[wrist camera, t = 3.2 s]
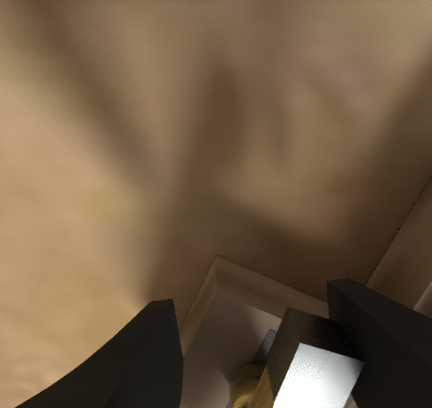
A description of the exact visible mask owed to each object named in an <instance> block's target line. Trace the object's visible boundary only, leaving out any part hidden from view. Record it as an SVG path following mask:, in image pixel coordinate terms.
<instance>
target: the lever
mask: <svg viewBox="0 0 432 408" xmlns="http://www.w3.org/2000/svg"><path fill="white" fill-rule="evenodd" d="M364 364H365V360H364V359H363V357H362V356H361V354H360V353H359V351H358V350H357V349H356V347H355V346H354V344H353V343H352V341H351V340H350V338H349V337H348V335H347V334H346V333H345V331H344V330H343V328H342V327H341V325H340V324H339V322H337V321H334V320H331V319H327V318H324V317H321V316H317V315H314V314H311V313H307V312H304V311H301V310H297V309H294V308H291V307H287V309H286V311H285V313H284V316H283V318H282V321H281V323H280V325H279V328H278V330H277V333H276V335H275V337H274V340H273V342H272V345H271V347H270V350H269V352H268V354H267V357H266V366H262V365H259V364H248V365H245V366H242V367H240V368H239V369H237V370H236V371H235V372H234V373H233V374H232V376H231V378H230V382H229V393H230V408H343V407H344V405H345V403H346V401H347V399H348V397H349V395H350V393H351V391H352V389H353V386H354V384H355V382H356V380H357V378H358V376H359V374H360V372H361V370H362V368H363V366H364Z"/></svg>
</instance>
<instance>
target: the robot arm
mask: <svg viewBox="0 0 432 408" xmlns="http://www.w3.org/2000/svg"><path fill="white" fill-rule="evenodd" d="M327 294H328V309H329V319H331V320H334V321H337V322H339V324H340V325H341V327H342V328H343V330H344V331H345V333H346V334H347V335H348V337H349V338H350V340H351V341H352V343H353V344H354V346H355V347H356V349H357V350H358V351H359V353H360V354H361V356H362V357H363V359H364V360H365V364H364V366H363V368H362V370H361V372H360V374H359V376H358V378H357V380H356V382H355V384H354V386H353V389H352V391H351V395H352V397H353V399H354V401H355V403H356V405H357V407H358V408H432V318H431V317H428V316H426V315H424V314H421V313H419V312H417V311H415V310H413V309H410V308H408V307H406V306H404V305H402V304H400V303H398V302H396V301H394V300H392V299H390V298H388V297H386V296H384V295H382V294H380V293H378V292H376V291H374V290H372V289H370V288H368V287H366V286H364V285H362V284H360V283H358V282H356V281H354V280H351V279H349V278H348V279H339V280H331V281H327ZM183 365H184V360H183V354H182V348H181V343H180V337H179V331H178V326H177V320H176V315H175V309H174V303H173V299H168V300H159V301H152V302H150V303H149V304H148V305H147V306H146V307H145V308H143V309H142V310H141V311H140V312H139V313H138V314H137V315H136V316H135V317H134V318H133V319H132V320H131V321H130V322H129V323H128V324H127V325H126V326H125V327H123V328H122V329H121V330H120V331H119V332H118V333H117V334H116V335H115V336H114V337H113V338H112V339H110V340H109V341H108V342H107V343H106V344H105V345H103V346H102V347H101V348H100V349H99V350H97V351H96V352H95V353H94V354H93V355H92V356H90V357H89V358H88V359H87V360H86V361H84V362H83V363H82V364H80V365H79V366H78V367H76V368H75V369H74V370H72V371H71V372H70V373H68V374H67V375H65V376H64V377H63V378H61V379H60V380H58V381H57V382H55V383H54V384H53V385H51V386H50V387H48V388H47V389H45V390H43V391H42V392H40V393H38V394H37V395H35V396H33V397H32V398H30V399H28V400H27V401H25V402H23V403H22V404H20V405H18V406H17V407H15V408H179V407H180V402H181V396H182V384H183Z"/></svg>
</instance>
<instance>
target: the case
mask: <svg viewBox="0 0 432 408" xmlns="http://www.w3.org/2000/svg"><path fill="white" fill-rule="evenodd" d="M365 286H366V287H368V288H370V289H372V290H374V291H376V292H378V293H380V294H382V295H384V296H386V297H388V298H390V299H392V300H394V301H396V302H398V303H400V304H402V305H404V306H406V307H408V308H410V309H413V310H415V311H417V312H419V313H421V314H424V315H426V316H428V317H431V318H432V177H431V179H430V180H429V182H428V184H427V185H426V187H425V189H424V190H423V192H422V194H421V195H420V197H419V198H418V200H417V202H416V203H415V205H414V207H413V208H412V210H411V212H410V213H409V215H408V216H407V218H406V220H405V221H404V223H403V225H402V226H401V228H400V230H399V231H398V233H397V234H396V236H395V238H394V239H393V241H392V243H391V244H390V246H389V248H388V249H387V251H386V252H385V254H384V256H383V257H382V259H381V261H380V262H379V264H378V266H377V267H376V269H375V271H374V272H373V274H372V275H371V277H370V279H369V280H368V282H367V284H366V285H365ZM287 307H291V308H294V309H297V310H301V311H304V312H307V313H311V314H314V315H317V316H321V317H324V318H327V319H329V309H328V303H326V302H324V301H321V300H319V299H317V298H314V297H312V296H310V295H307V294H305V293H303V292H300V291H298V290H296V289H293V288H291V287H289V286H287V285H284V284H282V283H280V282H277V281H275V280H273V279H270V278H268V277H266V276H263V275H261V274H259V273H256V272H254V271H252V270H249V269H247V268H245V267H242V266H240V265H238V264H235V263H233V262H231V261H228V260H226V259H224V258H221V257H219V256H217V255H216V258H215V260H214V262H213V264H212V266H211V268H210V270H209V272H208V274H207V276H206V278H205V280H204V282H203V284H202V286H201V288H200V290H199V292H198V294H197V296H196V298H195V300H194V302H193V304H192V306H191V308H190V311H189V313H188V315H187V317H186V319H185V321H184V323H183V325H182V327H181V329H180V331H179V337H180V343H181V348H182V354H183V360H184V365H183V384H182V396H181V402H180V407H179V408H230V393H229V382H230V378H231V376H232V374H233V373H234V372H235V371H236V370H237V369H239V368H240V367H242V366H245V365H248V364H259V365H262V366H266V357H267V354H268V352H269V350H270V347H271V345H272V342H273V340H274V337H275V335H276V333H277V330H278V328H279V325H280V323H281V321H282V318H283V316H284V313H285V311H286V309H287ZM343 408H358V407H357V405H356V403H355V401H354V399H353V397H352V395H351V393H350V395H349V397H348V399H347V401H346V403H345V405H344V407H343Z"/></svg>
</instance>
